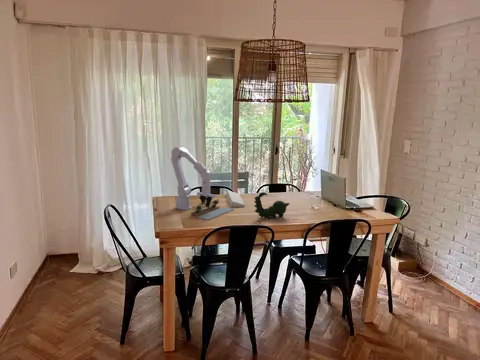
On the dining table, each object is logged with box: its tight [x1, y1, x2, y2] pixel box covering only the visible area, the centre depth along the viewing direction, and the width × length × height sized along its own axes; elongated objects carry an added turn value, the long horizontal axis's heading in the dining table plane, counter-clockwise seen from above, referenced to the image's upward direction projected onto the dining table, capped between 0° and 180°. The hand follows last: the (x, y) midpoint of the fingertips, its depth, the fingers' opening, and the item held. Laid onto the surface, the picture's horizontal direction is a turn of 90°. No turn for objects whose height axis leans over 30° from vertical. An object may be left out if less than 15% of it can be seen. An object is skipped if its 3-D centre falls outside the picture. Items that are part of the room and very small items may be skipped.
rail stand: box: [191, 200, 220, 217], centre depth 247 cm, size 6×24×6 cm, turn 147°
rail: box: [191, 197, 220, 212], centre depth 247 cm, size 3×26×3 cm, turn 147°
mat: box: [196, 206, 235, 221], centre depth 243 cm, size 9×30×1 cm, turn 147°
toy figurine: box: [254, 191, 290, 220], centre depth 238 cm, size 9×19×25 cm
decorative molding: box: [225, 189, 246, 208], centre depth 277 cm, size 34×5×10 cm
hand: (205, 206), depth 247 cm, fingers open, 3 cm apart
